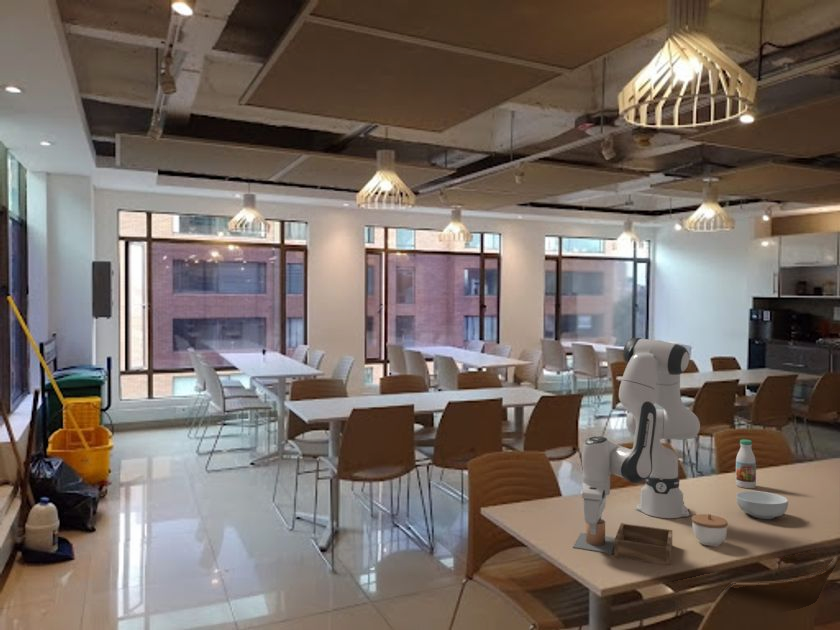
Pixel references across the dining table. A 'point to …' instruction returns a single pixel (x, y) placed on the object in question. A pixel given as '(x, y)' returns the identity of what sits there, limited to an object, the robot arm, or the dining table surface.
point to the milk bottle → (745, 465)
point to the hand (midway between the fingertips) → (595, 529)
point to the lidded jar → (709, 529)
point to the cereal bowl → (762, 504)
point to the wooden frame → (641, 549)
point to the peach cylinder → (600, 535)
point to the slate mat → (584, 545)
